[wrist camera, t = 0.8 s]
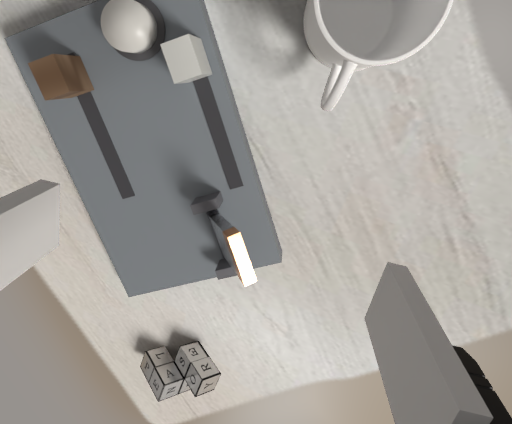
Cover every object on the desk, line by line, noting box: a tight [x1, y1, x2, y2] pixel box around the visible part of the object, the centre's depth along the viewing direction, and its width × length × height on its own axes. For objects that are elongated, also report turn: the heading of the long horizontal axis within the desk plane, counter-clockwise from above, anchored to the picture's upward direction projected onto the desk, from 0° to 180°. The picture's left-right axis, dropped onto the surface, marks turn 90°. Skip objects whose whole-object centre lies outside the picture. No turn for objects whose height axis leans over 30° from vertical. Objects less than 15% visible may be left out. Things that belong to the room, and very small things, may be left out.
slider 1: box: [28, 54, 94, 101], centre depth 32 cm, size 3×2×4 cm
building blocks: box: [140, 341, 221, 402], centre depth 44 cm, size 5×5×8 cm
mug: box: [303, 0, 453, 111], centre depth 27 cm, size 12×8×12 cm
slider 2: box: [160, 34, 212, 84], centre depth 30 cm, size 3×2×4 cm
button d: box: [101, 0, 157, 53], centre depth 31 cm, size 4×4×2 cm
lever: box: [206, 209, 257, 287], centre depth 34 cm, size 5×1×9 cm, turn 17°
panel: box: [5, 0, 282, 297], centre depth 36 cm, size 28×18×5 cm, turn 17°
